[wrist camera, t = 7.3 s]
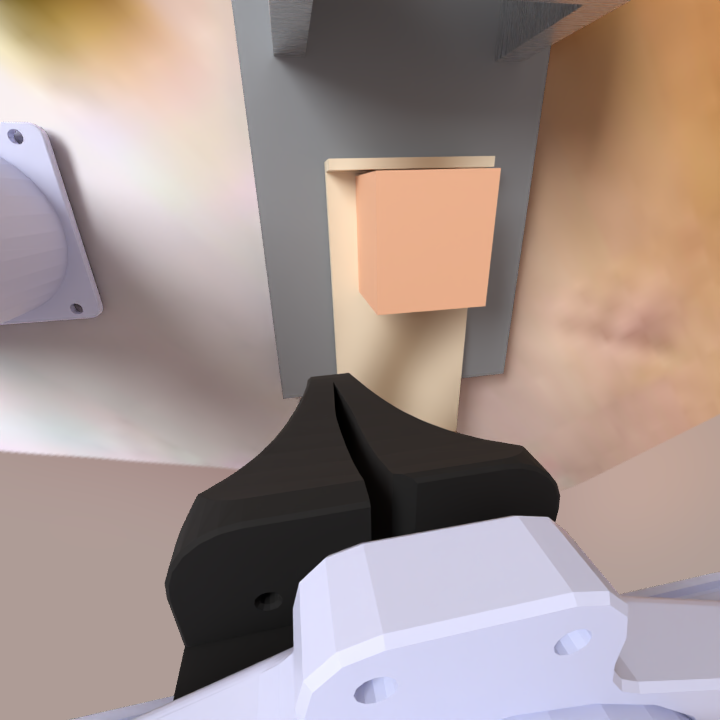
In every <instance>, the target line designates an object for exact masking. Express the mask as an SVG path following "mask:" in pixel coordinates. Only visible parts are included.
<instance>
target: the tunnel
mask: <svg viewBox="0 0 720 720" xmlns="http://www.w3.org/2000/svg"><path fill="white" fill-rule="evenodd" d="M629 1H630V0H501V5H500V15H499V25H498V35H497V46H496V56H495V62H523V61H524V60H526V59H528V58H530V57H531V56H533V55H535V54H537V53H538V52H540V51H542V50H544V49H546V48H547V47H549V46H551V45H553V44H554V43H556V42H558V41H560V40H561V39H563V38H565V37H567V36H568V35H570V34H572V33H574V32H576V31H577V30H579V29H581V28H583V27H584V26H586V25H588V24H590V23H591V22H593V21H595V20H597V19H598V18H600V17H602V16H604V15H606V14H607V13H609V12H611V11H613V10H614V9H616V8H618V7H620V6H621V5H623V4H625V3H627V2H629ZM312 4H313V0H268V6H269V16H270V26H271V36H272V46H273V56H296V57H305V52H306V45H307V38H308V32H309V25H310V18H311V11H312Z"/></svg>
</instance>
